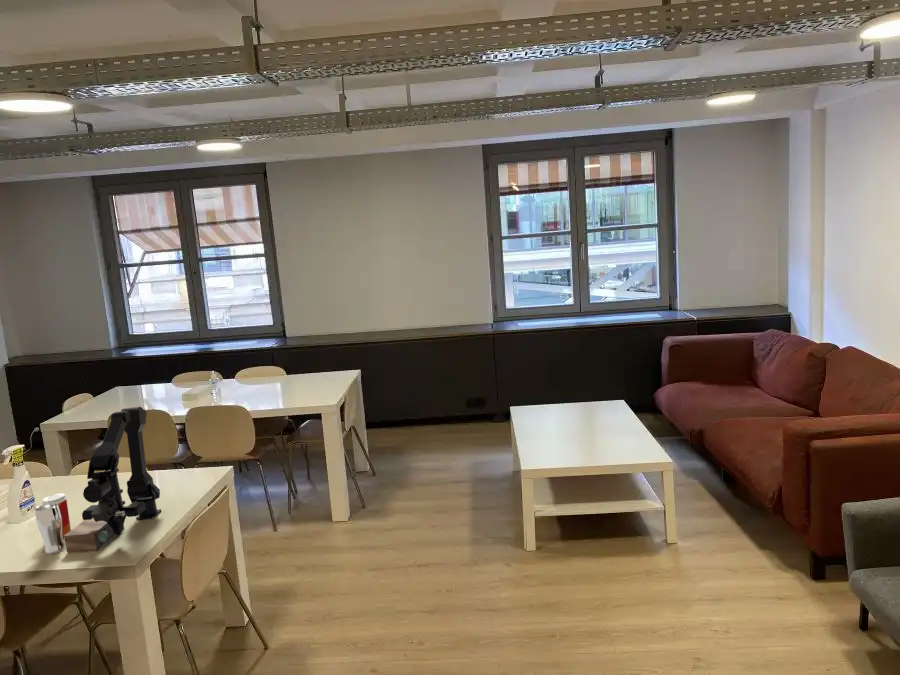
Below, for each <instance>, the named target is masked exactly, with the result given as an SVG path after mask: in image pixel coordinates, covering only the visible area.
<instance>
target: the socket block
mask: <svg viewBox="0 0 900 675" xmlns="http://www.w3.org/2000/svg"><path fill="white" fill-rule="evenodd" d="M123 530H125V525H123V528H122V531H123ZM100 531H107V533H108V539H107V541H106V542H100V541H99V536H98V533H99V532H100ZM116 536H117V535H116V534H115V532H114V531H113V529H112V528H111V527H110V525H109V524H108V523H107V522H105V521H98V522H95V520H94V518H92V519H91V520H83V521H82V522H80V523H79V524H78V525H76V526H75V527H74V528H72V529H71V531H69V532H68V533H67V534H65V535H64V538H63V540H64V543H65V545H66V548H65V549H66V553H67V554H74V553H89V552H99V550H101V549H102V548H103V547H104V546H105V545H107V544H108V543H109V542H111V541H112V540H113V539H114V538H115V537H116Z"/></svg>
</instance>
